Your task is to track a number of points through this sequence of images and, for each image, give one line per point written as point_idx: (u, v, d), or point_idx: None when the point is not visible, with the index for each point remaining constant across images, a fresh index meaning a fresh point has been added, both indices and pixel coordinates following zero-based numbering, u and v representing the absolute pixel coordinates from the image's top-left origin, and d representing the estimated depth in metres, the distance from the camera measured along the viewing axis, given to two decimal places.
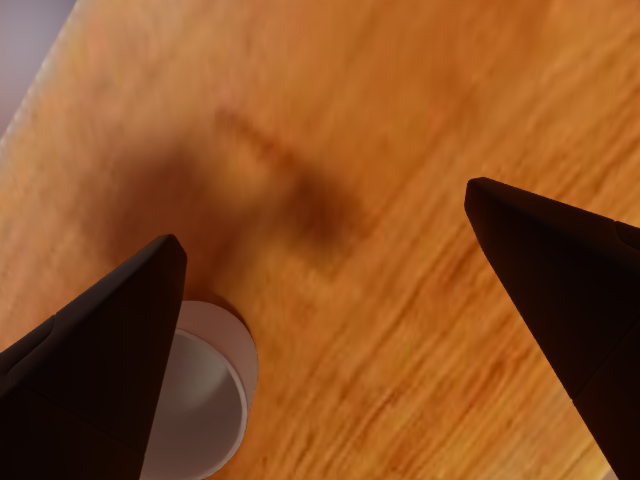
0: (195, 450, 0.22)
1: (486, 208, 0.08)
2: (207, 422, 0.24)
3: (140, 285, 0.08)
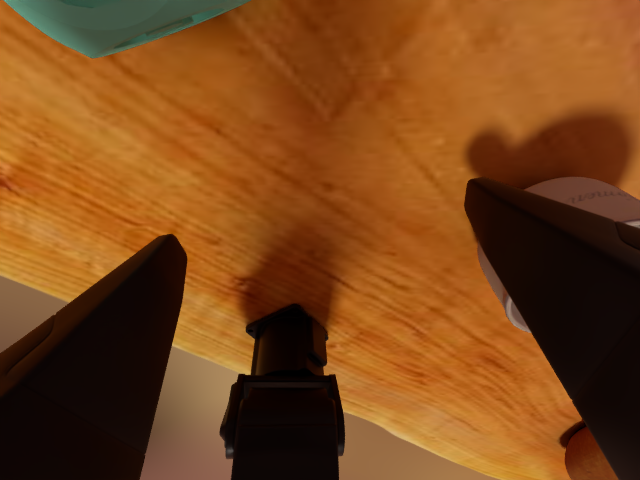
0: None
1: (486, 208, 0.08)
2: None
3: (140, 285, 0.08)
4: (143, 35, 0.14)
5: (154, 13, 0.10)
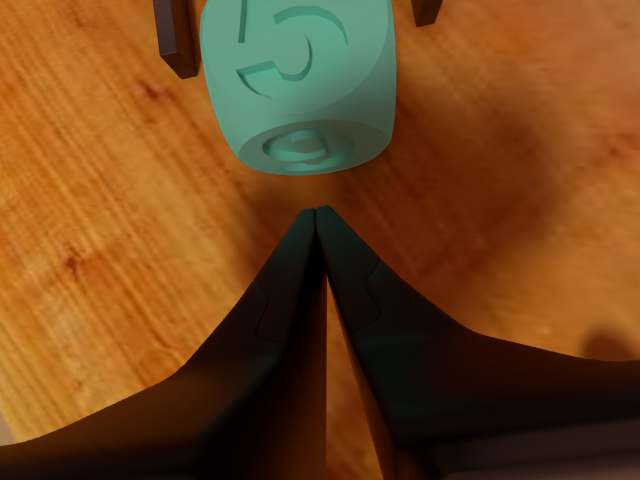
0: None
1: None
2: None
3: (314, 255, 0.07)
4: (282, 157, 0.17)
5: (319, 109, 0.12)
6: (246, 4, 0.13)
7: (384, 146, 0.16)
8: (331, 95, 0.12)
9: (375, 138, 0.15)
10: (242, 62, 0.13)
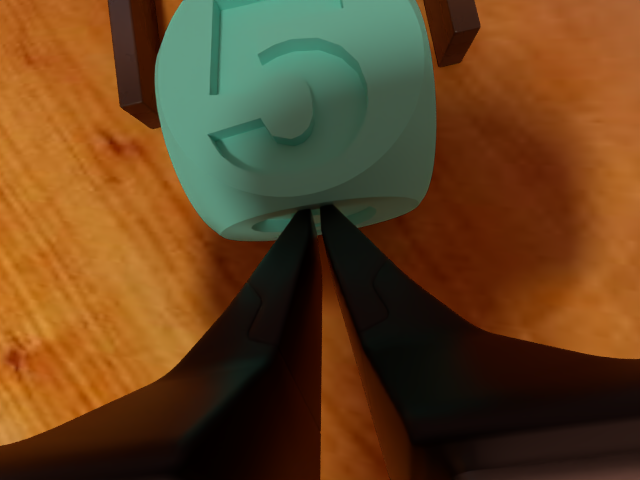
0: None
1: None
2: None
3: (308, 256, 0.07)
4: (278, 227, 0.13)
5: (332, 187, 0.08)
6: (218, 38, 0.09)
7: (412, 208, 0.12)
8: (349, 167, 0.08)
9: (404, 205, 0.11)
10: (216, 123, 0.09)
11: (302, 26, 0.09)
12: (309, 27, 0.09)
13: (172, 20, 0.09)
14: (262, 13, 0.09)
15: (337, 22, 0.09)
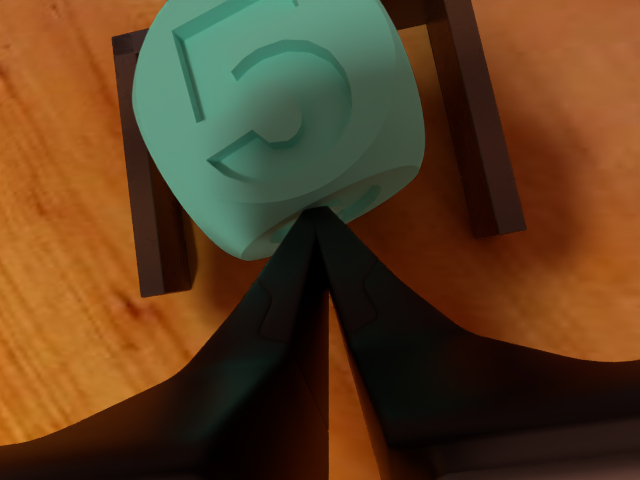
0: None
1: None
2: None
3: (316, 255, 0.07)
4: None
5: (341, 173, 0.08)
6: (187, 69, 0.10)
7: (413, 178, 0.12)
8: (351, 149, 0.08)
9: (406, 175, 0.11)
10: (211, 146, 0.09)
11: (265, 33, 0.09)
12: (272, 32, 0.09)
13: (138, 63, 0.09)
14: (222, 33, 0.10)
15: (298, 19, 0.09)
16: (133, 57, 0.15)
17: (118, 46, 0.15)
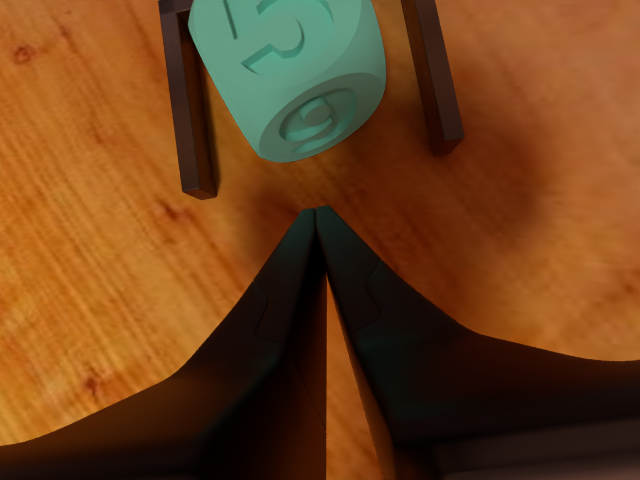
0: None
1: None
2: None
3: (313, 255, 0.07)
4: (293, 138, 0.18)
5: (326, 69, 0.13)
6: (226, 7, 0.14)
7: (381, 96, 0.17)
8: (332, 54, 0.13)
9: (374, 88, 0.16)
10: (243, 54, 0.14)
11: None
12: None
13: (195, 2, 0.14)
14: None
15: None
16: (174, 15, 0.20)
17: (163, 7, 0.20)
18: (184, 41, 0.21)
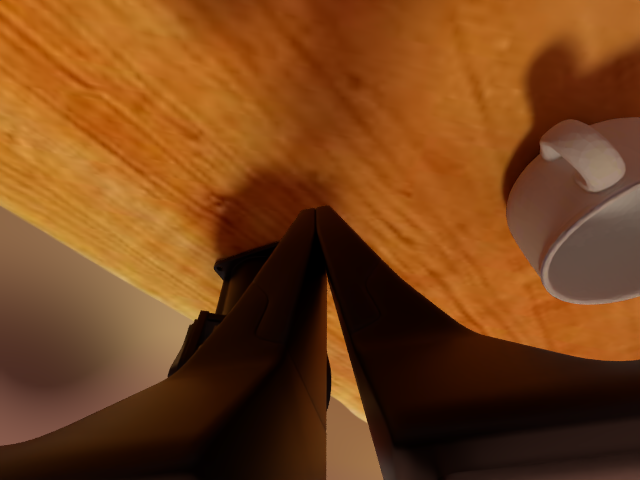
0: None
1: None
2: None
3: (314, 255, 0.07)
4: None
5: None
6: None
7: None
8: None
9: None
10: None
11: None
12: None
13: None
14: None
15: None
16: None
17: None
18: None
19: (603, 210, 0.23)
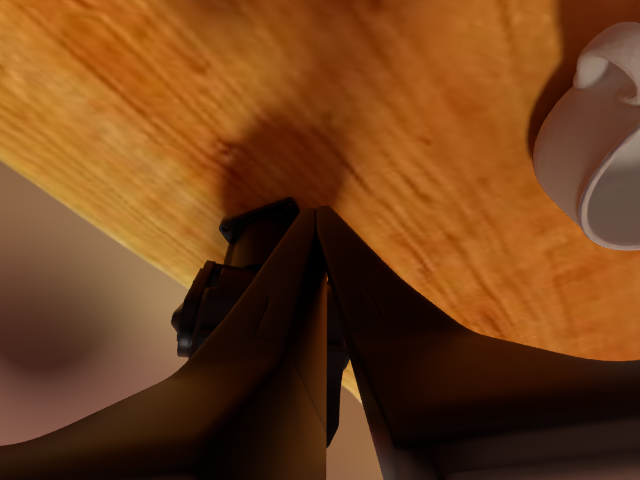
0: None
1: None
2: None
3: (313, 255, 0.07)
4: None
5: None
6: None
7: None
8: None
9: None
10: None
11: None
12: None
13: None
14: None
15: None
16: None
17: None
18: None
19: (634, 157, 0.22)
